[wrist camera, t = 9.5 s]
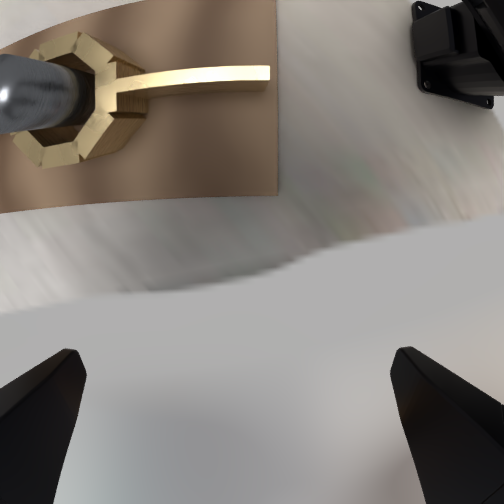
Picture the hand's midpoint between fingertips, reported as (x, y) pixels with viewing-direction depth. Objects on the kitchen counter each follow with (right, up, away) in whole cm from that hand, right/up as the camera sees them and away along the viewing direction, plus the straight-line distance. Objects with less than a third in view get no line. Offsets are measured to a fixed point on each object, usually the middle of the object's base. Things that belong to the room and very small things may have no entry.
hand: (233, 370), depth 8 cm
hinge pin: (-8, +12, +7) cm, 16 cm away
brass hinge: (-8, +12, +7) cm, 16 cm away
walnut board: (-8, +12, +8) cm, 16 cm away
